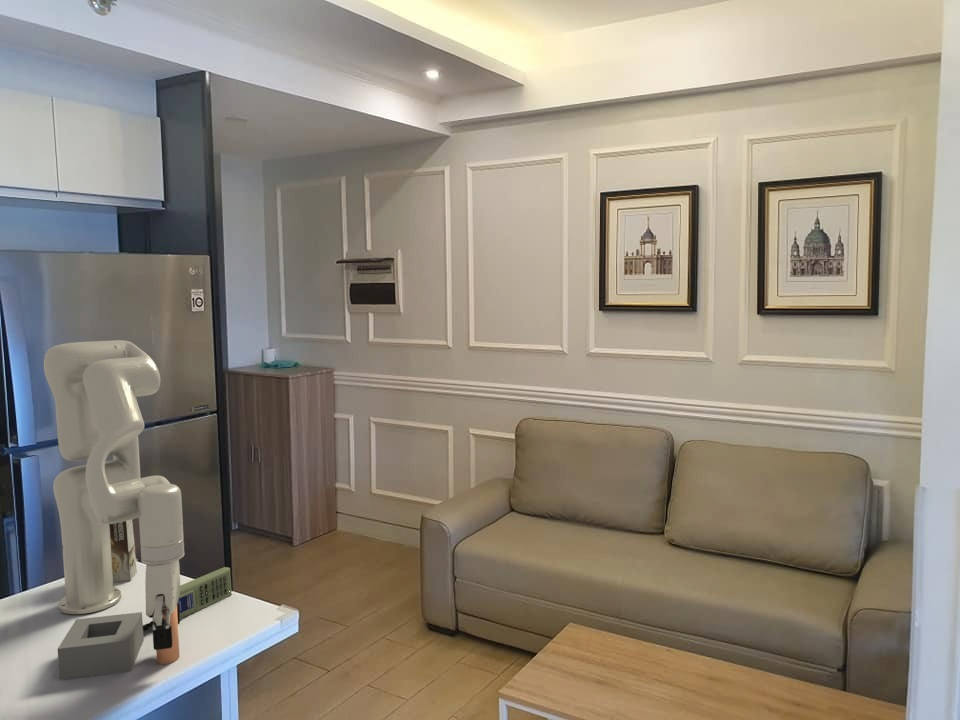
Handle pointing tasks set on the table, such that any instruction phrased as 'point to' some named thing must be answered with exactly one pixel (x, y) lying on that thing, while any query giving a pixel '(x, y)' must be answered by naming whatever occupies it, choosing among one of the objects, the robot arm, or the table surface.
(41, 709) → the table surface
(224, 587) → the handheld radio
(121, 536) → the coffee box
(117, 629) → the socket block
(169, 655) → the peg
